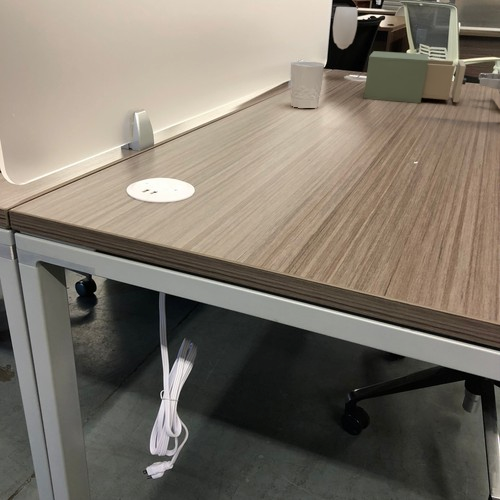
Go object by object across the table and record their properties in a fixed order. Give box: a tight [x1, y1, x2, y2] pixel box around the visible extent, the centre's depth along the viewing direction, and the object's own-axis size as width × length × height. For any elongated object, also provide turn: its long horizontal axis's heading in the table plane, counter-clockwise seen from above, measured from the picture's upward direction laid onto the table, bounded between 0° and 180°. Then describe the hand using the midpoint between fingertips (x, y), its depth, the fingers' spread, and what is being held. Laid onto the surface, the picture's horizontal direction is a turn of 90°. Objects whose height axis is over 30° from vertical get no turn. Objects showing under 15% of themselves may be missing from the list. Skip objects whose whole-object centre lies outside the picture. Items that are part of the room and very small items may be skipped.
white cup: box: [289, 60, 325, 109], centre depth 122 cm, size 8×8×10 cm
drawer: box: [421, 58, 467, 103], centre depth 133 cm, size 15×11×9 cm
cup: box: [332, 6, 359, 50], centre depth 157 cm, size 7×7×21 cm
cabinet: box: [363, 50, 429, 104], centre depth 136 cm, size 15×13×11 cm
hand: (479, 79), depth 130 cm, fingers open, 7 cm apart
